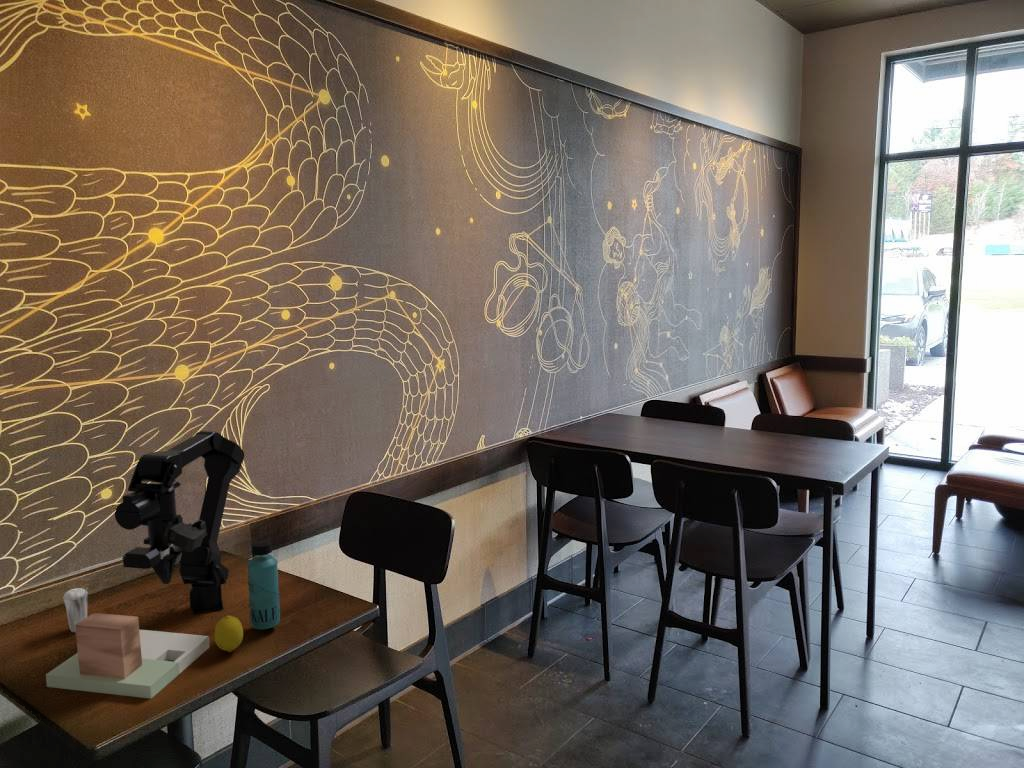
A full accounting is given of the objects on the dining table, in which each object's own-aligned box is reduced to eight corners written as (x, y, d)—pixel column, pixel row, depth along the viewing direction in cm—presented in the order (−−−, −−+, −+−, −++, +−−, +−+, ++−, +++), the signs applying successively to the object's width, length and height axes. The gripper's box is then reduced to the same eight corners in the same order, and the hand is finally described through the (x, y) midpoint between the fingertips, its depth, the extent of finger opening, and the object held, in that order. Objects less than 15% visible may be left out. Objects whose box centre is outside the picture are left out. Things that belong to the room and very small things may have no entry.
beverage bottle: (269, 619, 170) (264, 534, 166) (288, 627, 166) (283, 541, 163) (244, 630, 164) (238, 543, 161) (262, 639, 161) (258, 550, 157)
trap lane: (115, 638, 161) (114, 627, 161) (209, 647, 157) (208, 636, 157) (46, 686, 143) (45, 674, 142) (151, 698, 139) (150, 686, 138)
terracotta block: (98, 660, 147) (94, 612, 146) (142, 665, 146) (138, 616, 144) (79, 674, 142) (75, 624, 141) (124, 678, 141) (120, 629, 139)
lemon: (227, 661, 152) (225, 624, 150) (209, 654, 155) (207, 617, 153) (249, 649, 156) (247, 613, 155) (232, 642, 159) (230, 607, 158)
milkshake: (83, 635, 162) (79, 591, 161) (61, 632, 163) (57, 589, 162) (98, 625, 167) (94, 583, 165) (77, 623, 168) (73, 580, 166)
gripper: (168, 531, 147) (174, 605, 150) (221, 501, 165) (225, 568, 168) (117, 527, 149) (124, 601, 152) (175, 498, 167) (180, 565, 170)
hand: (166, 583), depth 160 cm, fingers closed
